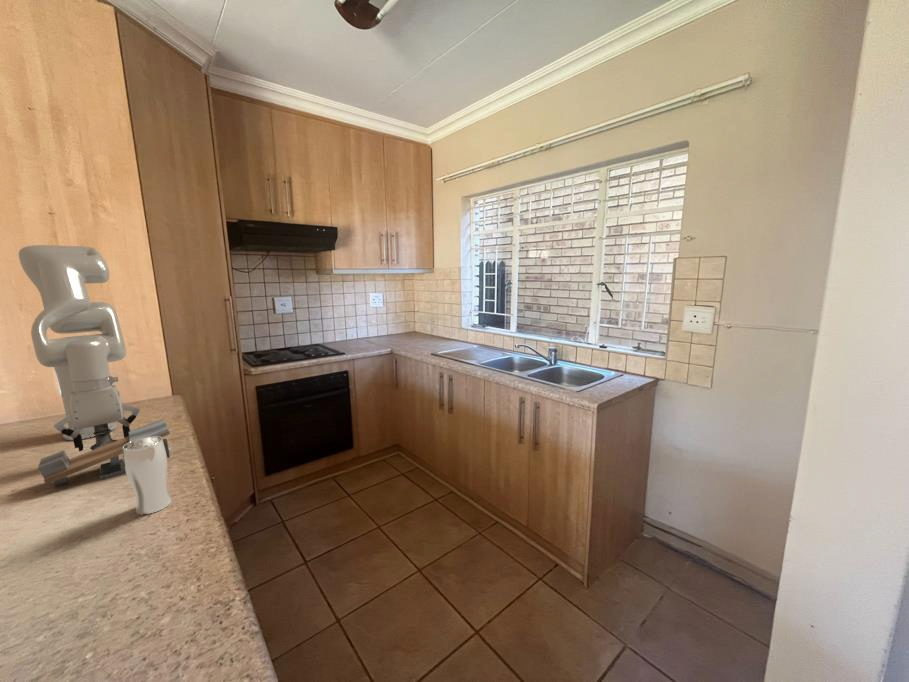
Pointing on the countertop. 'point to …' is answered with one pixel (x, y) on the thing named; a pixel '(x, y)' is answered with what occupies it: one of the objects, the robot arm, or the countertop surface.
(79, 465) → the beam
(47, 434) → the countertop surface
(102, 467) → the beam stand
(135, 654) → the countertop surface
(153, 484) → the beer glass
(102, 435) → the chess piece
